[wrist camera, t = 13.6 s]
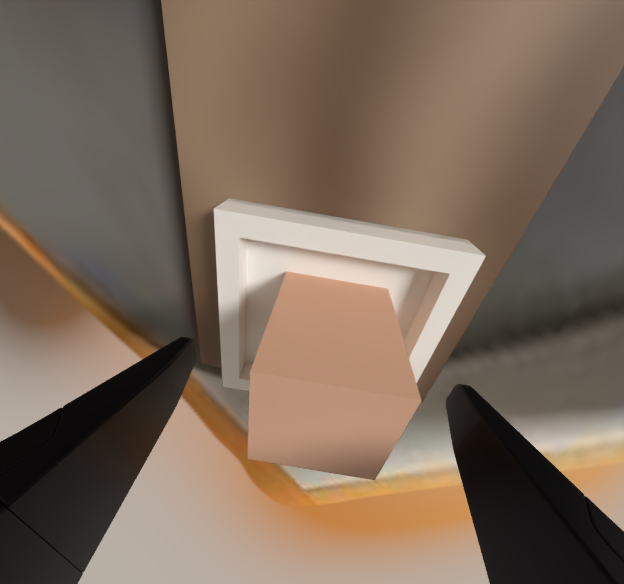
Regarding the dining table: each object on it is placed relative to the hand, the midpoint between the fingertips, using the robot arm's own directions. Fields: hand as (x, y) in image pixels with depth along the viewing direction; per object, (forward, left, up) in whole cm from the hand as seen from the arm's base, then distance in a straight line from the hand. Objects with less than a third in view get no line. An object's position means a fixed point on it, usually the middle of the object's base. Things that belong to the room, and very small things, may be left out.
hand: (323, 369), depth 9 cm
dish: (0, 0, -3) cm, 3 cm away
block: (0, 0, -3) cm, 3 cm away
